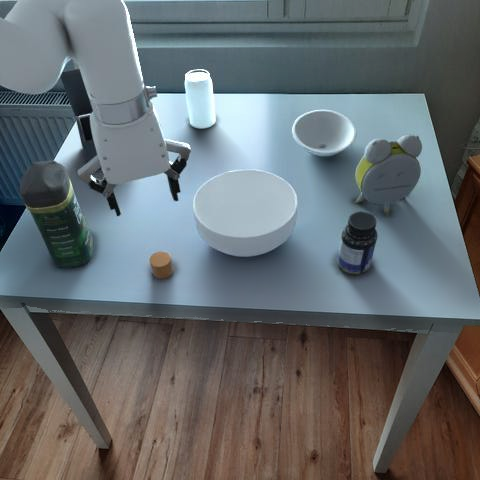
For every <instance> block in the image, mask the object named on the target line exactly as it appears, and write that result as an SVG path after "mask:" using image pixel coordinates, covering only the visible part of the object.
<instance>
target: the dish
mask: <svg viewBox="0 0 480 480" xmlns="http://www.w3.org/2000/svg"><path fill="white" fill-rule="evenodd" d="M291 132H292V137H293V139H294V141H295V142H296V143H297V144H298V145H299V146H300V147H301V148H303V149H304V150H305V151H306V152H308V153H310V154H312V155H313V156H316V157H317V156H318V157H333V156H335V155H337V154H339V153H341V152H344V151H345V150H347V149H349V148H350V147H351V146H352V145H353V144H354V143H355V141H356V138H357V127H356V126H355V123H354V122H353V121H352V119H350V118H349V117H347V116H346V115H344V114H342V113H340V112H338V111H335V110H329V109H315V110H310V111H307V112H304V113H303V114H301V115H299V116H298V117H297V118H296V119H295V121H294V122H293V125H292V128H291Z"/></svg>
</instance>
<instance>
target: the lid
mask: <svg viewBox="0 0 480 480" xmlns="http://www.w3.org/2000/svg"><path fill="white" fill-rule="evenodd" d="M71 61H72V63H73V66H74V69H72V70H67V71H62V74H61V76H60V78H59V79H60V80H61V83H62V86H63V88H64V92H65V93H66V97H67V99H68V101H69V105H70V107H71V109H72V112H73V116H74V117H75V118H76V117H80V116H85V115H90V114H91V113H92V112H93V109H92V106H91V103H90V100H89V97H88V94H87V91H86V88H85V84H84V81H83V78H82V75H81V72H80V69H79V66H78V62H77V60H76V59H71Z"/></svg>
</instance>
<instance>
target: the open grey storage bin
mask: <svg viewBox="0 0 480 480" xmlns="http://www.w3.org/2000/svg"><path fill="white" fill-rule="evenodd" d="M75 122H76V126H77V130H78V131H77V132H78V136H79V140H80V144H81V147H82V150H83V153H84V156H85V158H86V162H87V163H88V162H89V161H90V160H92V159H93V158H94V157H95V156H96V155H97V151H96V147H95V144H94V140H93V136H92V131H91V125H90V114H86V115H81V116H77V117H75ZM100 171H102V168H99V169H98V170H97V171H96V172H100Z"/></svg>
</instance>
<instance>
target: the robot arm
mask: <svg viewBox="0 0 480 480" xmlns="http://www.w3.org/2000/svg"><path fill="white" fill-rule="evenodd" d="M134 37H135V36H134V33H133V28H132V24H131V19H130V14H129V11H128V8H127V5H126V4H125V2H124V1H123V0H17V1H16V2H15V4H14V5H13V7H12V8H11V10H10V11H9V12H8V13H7V14H6V16H5V17H4V18H3V17H1V16H0V86H2V87H3V88H6V89H8V90H11V91H14V92H16V93H20V94H25V95H41V94H45V93H47V92H49V91H50V90H52V89H53V88H54V87H55V86H56V85H57V83H58V81H59V79H61V78H60V76H61V74H62V72H64V69H65V67H66V64H67V63H69V62H70V61H72V59H76V60H77V62H78V66H79V69H80V72H81V75H82V78H83V81H84V84H85V88H86V91H87V94H88V97H89V100H90V103H91V106H92V109H93V112H92V113H91V114H89V115H90V125H91V131H92V136H93V140H94V144H95V147H96V151H97V155H96V156H95V157H94V158H93V159H92V160H90V161H89V162H88V161H87V163H85V164H84V165H83V166H82V167H80V168H79V169H78V170H77V175H78V179H80V180H81V182H83V183H84V184H85V185H86V186H88V187H89V189H90V190H93V191H94V192H96V193H99V194H101V195H102V196H103V197H104V198H106V201H107V204H108V207H109V210H110V211H112V210H113V211H114V212H115V214H116V217H121V215H122V213H121V209H120V206H119V202H118V199H117V196H116V193H115V188H116V186H117V185H121V184H126V183H129V182H133V181H139V180H141V179H146V178H151V177H154V176H158V175H161V174H165V175H166V178H167V182H168V187H169V192H170V194H171V197H172V199H173V201H174V202H179V195H178V194H180V193H181V192H182V191H181V187H180V181H179V179H181V178H180V177H181V174H182V173H183V171H184V170H185V168H186V167H187V165H188V161H189V159H190V156H191V152H192V149H191V147H190V145H189V144H188V143H185V142H179V141H176V140H175V141H174V140H171V139H167V138H165V136H164V132H163V128H162V126H161V123H160V120H159V117H158V114H157V110H156V108H155V106H154V104H153V102H152V100H153V98H158V92H157V88H156V86H151V87H150V86H147V85H146V84H145V83H144V79H143V75H142V70H141V65H140V60H139V56H138V51H137V47H136V46H137V45H136V42H135V38H134ZM169 152H170V153H174V154H178V156H177V157H176V159H175V160H174V161H173V162H172V161H171V160H170V156H169V155H170V154H169ZM99 168H102V170H101V172H102V173H103V177H102V179H99V178H97V177H94V176H93V174H95V173H96V172H98V171H97V170H98V169H99Z"/></svg>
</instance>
